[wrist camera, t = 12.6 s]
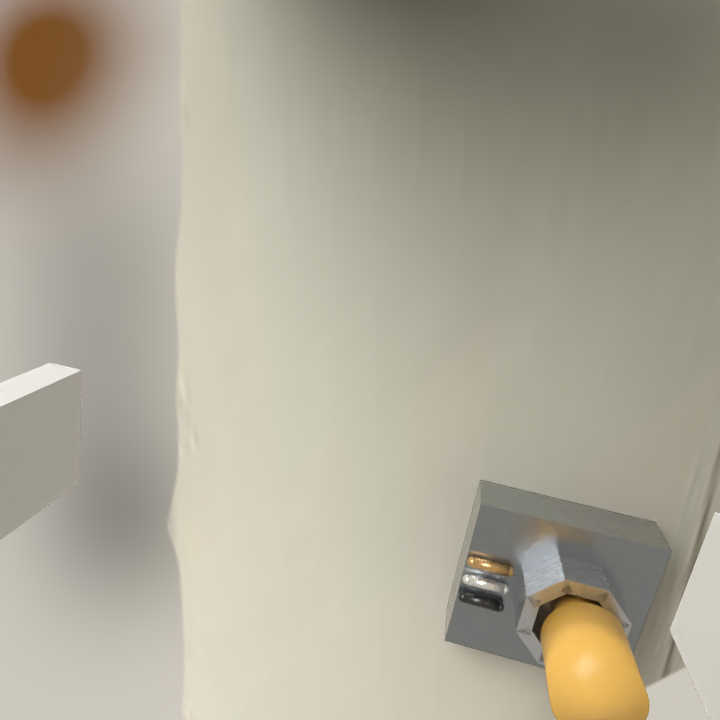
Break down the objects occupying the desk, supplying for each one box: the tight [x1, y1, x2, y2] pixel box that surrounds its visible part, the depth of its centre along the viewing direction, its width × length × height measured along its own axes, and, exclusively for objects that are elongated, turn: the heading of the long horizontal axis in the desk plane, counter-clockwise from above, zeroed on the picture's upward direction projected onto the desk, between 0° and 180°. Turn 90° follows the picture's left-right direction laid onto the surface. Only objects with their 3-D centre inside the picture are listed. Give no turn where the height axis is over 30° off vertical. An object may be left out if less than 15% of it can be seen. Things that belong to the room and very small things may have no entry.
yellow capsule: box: [540, 593, 649, 720], centre depth 35 cm, size 5×5×8 cm
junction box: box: [445, 480, 671, 668], centre depth 40 cm, size 12×11×6 cm
